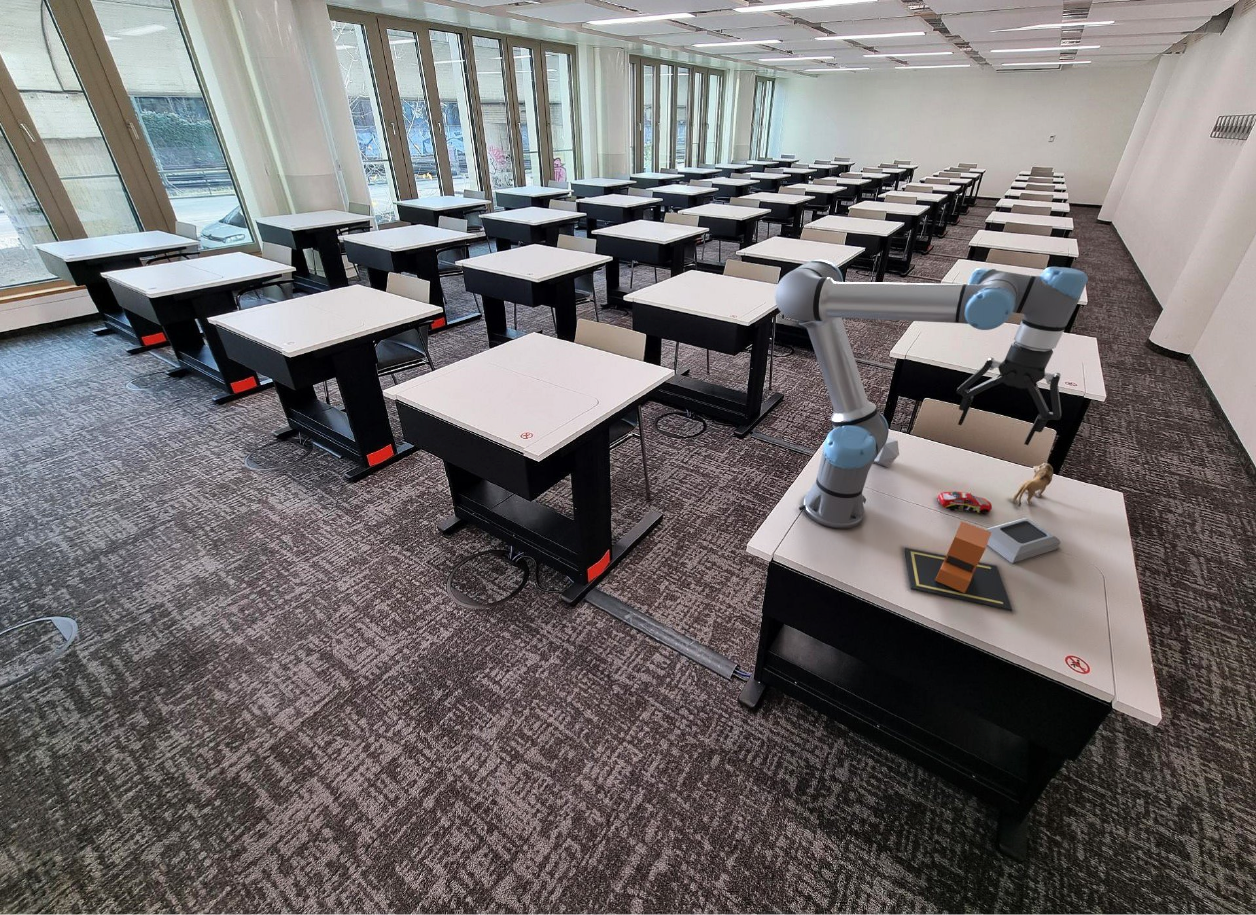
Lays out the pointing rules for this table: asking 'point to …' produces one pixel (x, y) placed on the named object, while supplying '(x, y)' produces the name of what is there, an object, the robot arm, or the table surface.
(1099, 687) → the table surface
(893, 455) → the die
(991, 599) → the mat
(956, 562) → the toy van
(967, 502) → the race car
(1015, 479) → the table surface
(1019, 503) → the lion figurine
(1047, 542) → the grey low boxy piece
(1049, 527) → the table surface
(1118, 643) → the table surface
